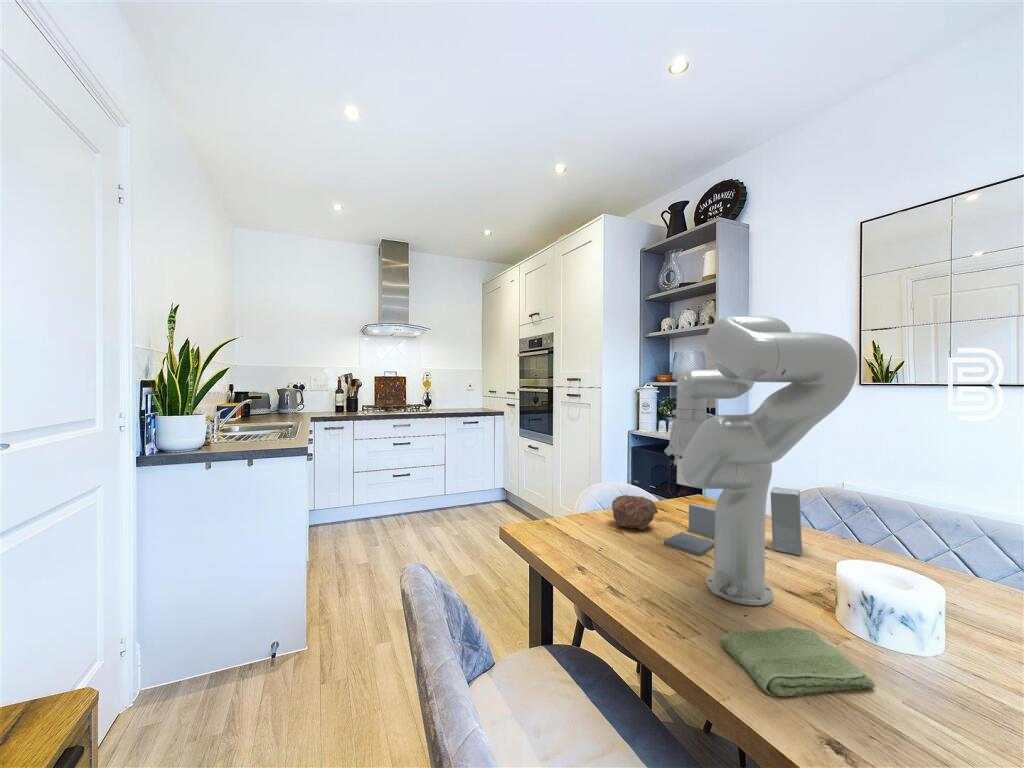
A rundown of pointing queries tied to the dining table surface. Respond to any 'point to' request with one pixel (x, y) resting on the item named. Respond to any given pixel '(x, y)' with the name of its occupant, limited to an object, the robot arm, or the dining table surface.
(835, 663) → the washcloth
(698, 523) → the screen
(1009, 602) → the dining table surface
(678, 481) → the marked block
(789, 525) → the skincare box
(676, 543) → the mat
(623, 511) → the decorative rock
